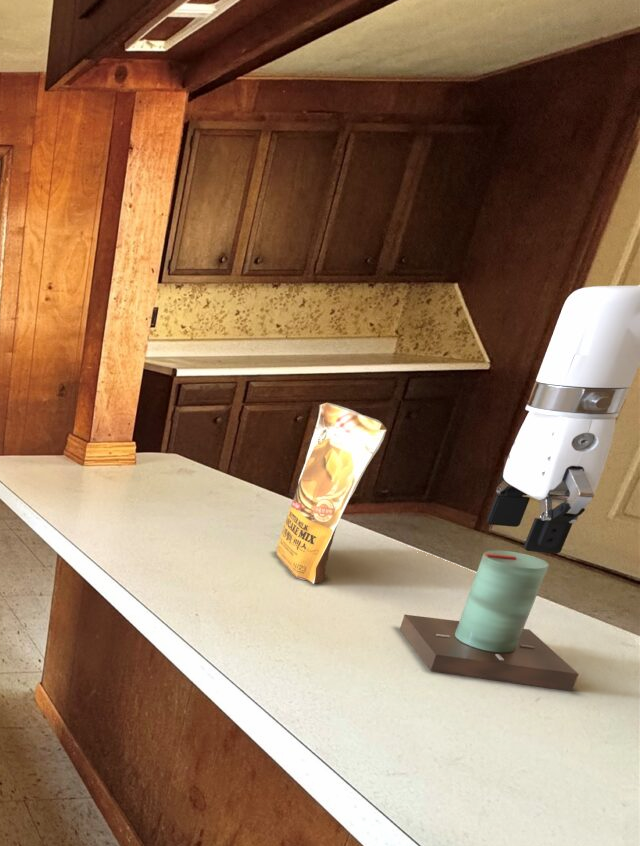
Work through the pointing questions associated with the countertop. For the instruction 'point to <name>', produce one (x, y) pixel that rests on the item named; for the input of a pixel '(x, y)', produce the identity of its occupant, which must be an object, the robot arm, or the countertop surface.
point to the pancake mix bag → (326, 487)
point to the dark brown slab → (487, 656)
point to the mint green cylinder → (500, 600)
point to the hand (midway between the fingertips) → (520, 537)
